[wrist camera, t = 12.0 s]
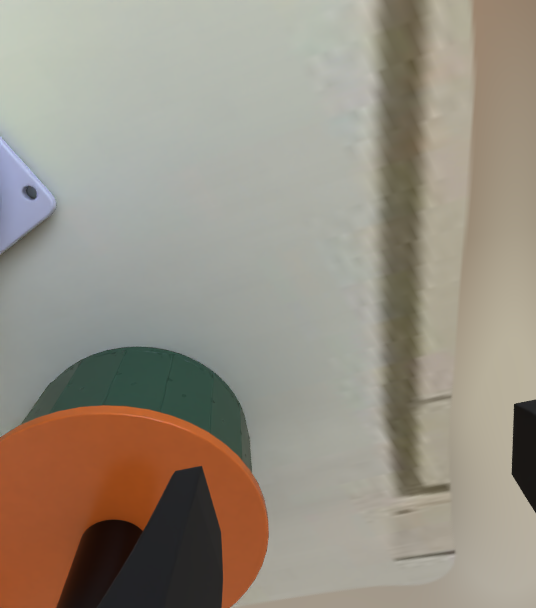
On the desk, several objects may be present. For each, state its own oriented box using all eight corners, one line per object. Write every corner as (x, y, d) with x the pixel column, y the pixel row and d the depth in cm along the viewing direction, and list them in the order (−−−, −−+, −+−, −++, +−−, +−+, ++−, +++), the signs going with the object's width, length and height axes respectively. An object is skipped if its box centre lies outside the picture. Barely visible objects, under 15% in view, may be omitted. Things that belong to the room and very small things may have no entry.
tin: (-13, 426, 21) (-88, 520, 16) (156, 304, 19) (131, 365, 14) (134, 547, 24) (109, 656, 19) (286, 451, 23) (303, 542, 18)
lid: (-5, 626, 19) (-69, 763, 15) (-67, 396, 15) (-178, 498, 11) (262, 611, 20) (270, 735, 16) (271, 392, 16) (287, 483, 12)
